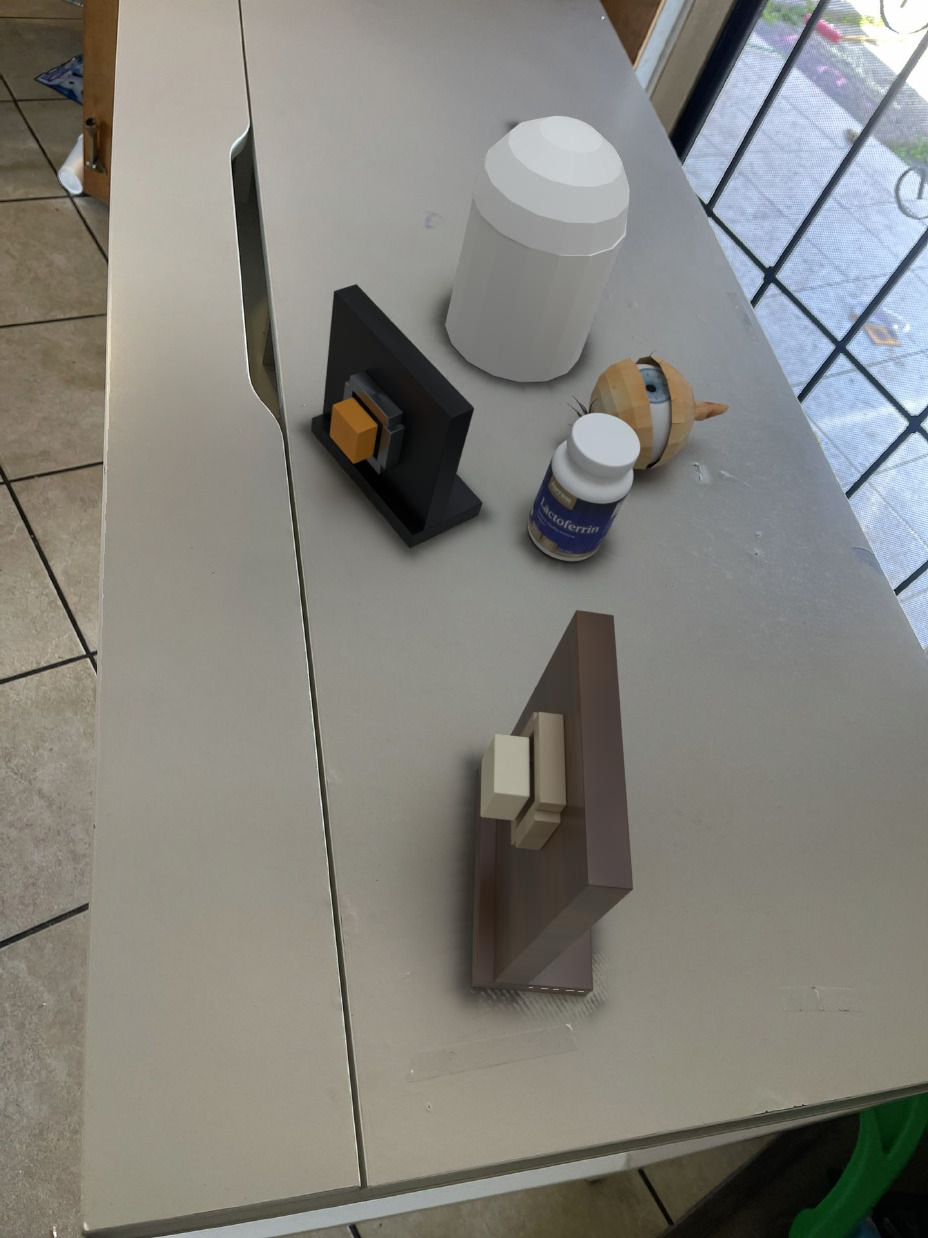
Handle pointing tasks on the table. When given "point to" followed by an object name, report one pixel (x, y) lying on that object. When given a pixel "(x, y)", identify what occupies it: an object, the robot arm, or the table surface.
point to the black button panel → (397, 421)
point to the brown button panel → (557, 827)
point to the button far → (353, 430)
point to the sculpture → (651, 406)
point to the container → (538, 249)
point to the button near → (505, 777)
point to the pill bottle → (584, 487)
